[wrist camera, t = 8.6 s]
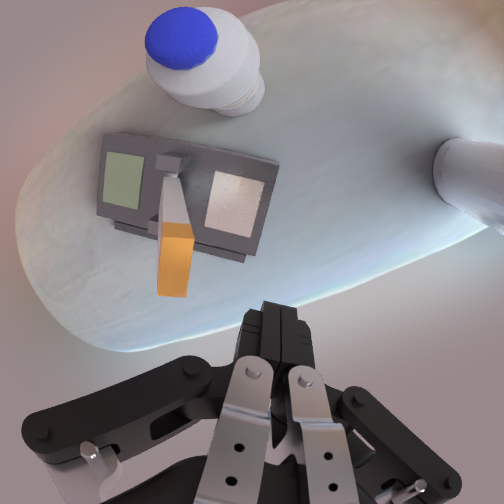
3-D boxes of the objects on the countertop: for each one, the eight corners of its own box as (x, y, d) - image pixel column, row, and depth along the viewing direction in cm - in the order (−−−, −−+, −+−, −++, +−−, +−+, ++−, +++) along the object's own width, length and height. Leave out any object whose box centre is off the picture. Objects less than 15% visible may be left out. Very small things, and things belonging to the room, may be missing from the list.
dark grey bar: (248, 245, 34) (247, 248, 33) (244, 259, 35) (243, 263, 34) (118, 212, 34) (115, 214, 33) (117, 226, 34) (114, 228, 34)
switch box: (279, 162, 29) (279, 169, 23) (257, 242, 34) (252, 269, 27) (121, 132, 29) (87, 135, 23) (113, 206, 33) (81, 223, 27)
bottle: (233, 131, 28) (161, 125, 10) (196, 91, 27) (87, 46, 9) (280, 94, 26) (284, 25, 8) (240, 54, 25) (187, -43, 6)
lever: (180, 172, 26) (195, 232, 14) (173, 212, 28) (185, 302, 15) (164, 170, 26) (163, 229, 13) (158, 211, 27) (157, 301, 15)
